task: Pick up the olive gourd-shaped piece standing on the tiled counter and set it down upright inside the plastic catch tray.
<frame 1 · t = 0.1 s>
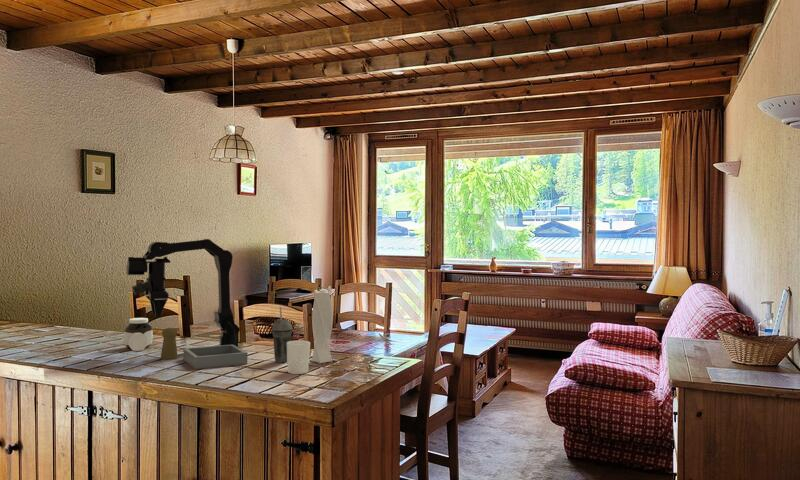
hand: (155, 315, 219), 15 cm above the table, fingers open, 9 cm apart
olive gourd-shaped piece: (169, 358, 213), on the table
catch tray: (214, 361, 208), on the table
white cup: (297, 372, 194), on the table
spread jar: (138, 349, 229), on the table
beverage cup: (281, 362, 210), on the table
skyscraper: (322, 362, 211), on the table
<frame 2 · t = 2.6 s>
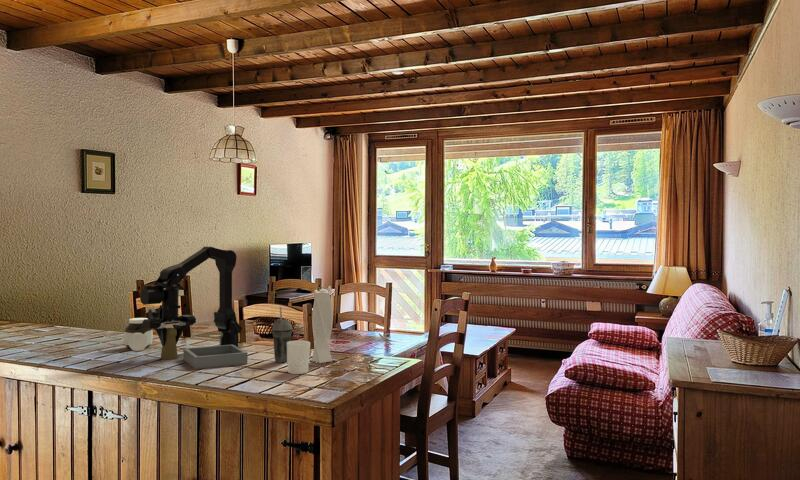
hand: (169, 344, 213), 5 cm above the table, fingers closed on olive gourd-shaped piece, 4 cm apart
olive gourd-shaped piece: (169, 358, 213), on the table, touching gripper
everything else where it was.
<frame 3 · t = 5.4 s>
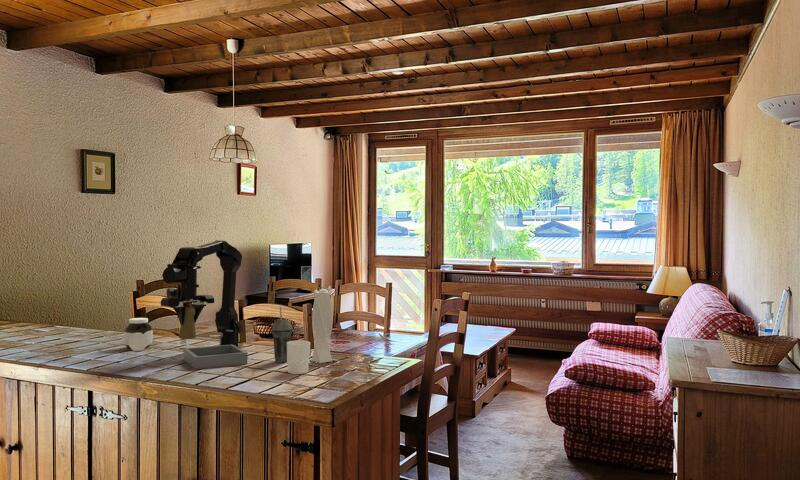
hand: (187, 324, 211), 13 cm above the table, fingers closed on olive gourd-shaped piece, 4 cm apart
olive gourd-shaped piece: (187, 338, 211), point 8 cm above the table, touching gripper
everything else where it was.
when the fingers open (7 cm above the table, at t = 8.1 s): olive gourd-shaped piece drops 1 cm, resting on catch tray.
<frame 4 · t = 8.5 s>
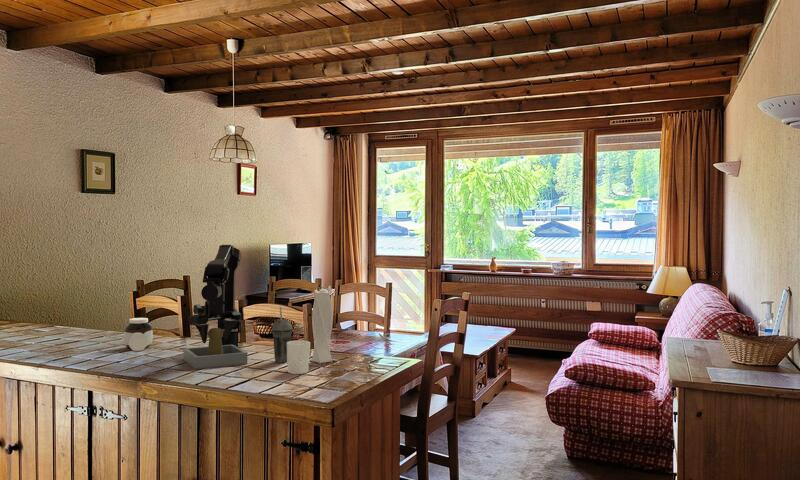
hand: (215, 341, 208), 7 cm above the table, fingers open, 9 cm apart
olive gourd-shaped piece: (215, 359, 208), point 1 cm above the table, touching catch tray
everything else where it was.
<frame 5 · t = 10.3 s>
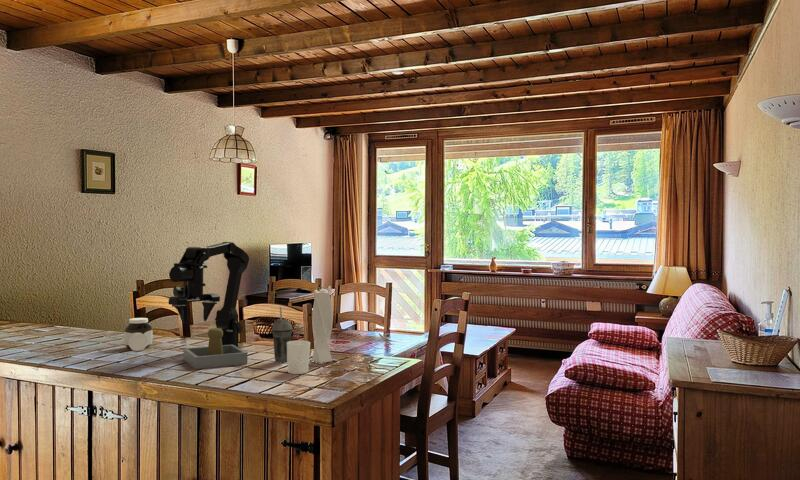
hand: (194, 322, 215), 13 cm above the table, fingers open, 9 cm apart
nothing on the table moved.
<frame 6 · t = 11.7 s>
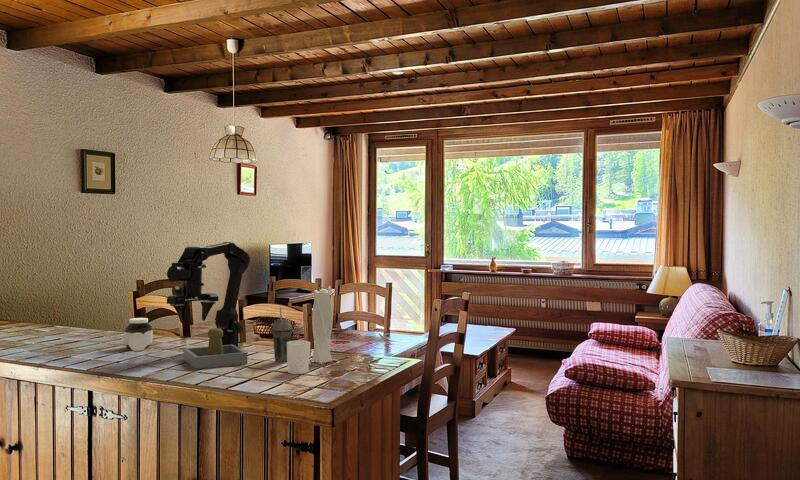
hand: (192, 321, 216), 13 cm above the table, fingers open, 9 cm apart
nothing on the table moved.
at the end: olive gourd-shaped piece inside the target area on the catch tray (0.0 cm from its centre), point 0.8 cm above the catch tray's base; olive gourd-shaped piece tilted 0°; the gripper is holding nothing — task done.
